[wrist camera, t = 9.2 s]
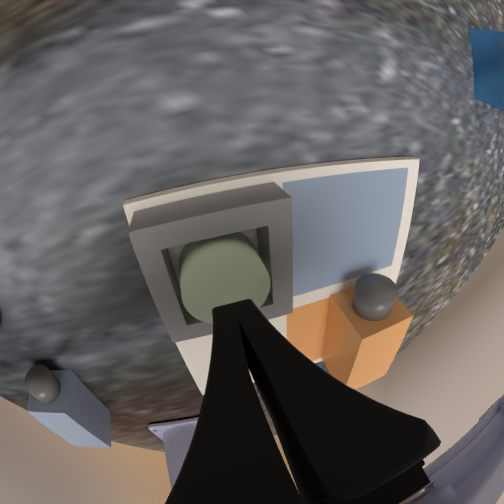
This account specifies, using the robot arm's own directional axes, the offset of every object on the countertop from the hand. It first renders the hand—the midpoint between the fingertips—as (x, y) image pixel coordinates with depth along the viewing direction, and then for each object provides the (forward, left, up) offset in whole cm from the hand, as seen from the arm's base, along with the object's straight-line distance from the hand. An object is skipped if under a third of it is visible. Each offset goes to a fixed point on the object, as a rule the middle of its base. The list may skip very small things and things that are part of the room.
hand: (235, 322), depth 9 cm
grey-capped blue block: (-11, +15, -5) cm, 19 cm away
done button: (0, 0, -4) cm, 4 cm away
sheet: (-4, -5, -5) cm, 8 cm away
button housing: (0, 0, -4) cm, 4 cm away
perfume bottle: (+12, -24, -5) cm, 27 cm away
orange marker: (-8, -9, -4) cm, 13 cm away
